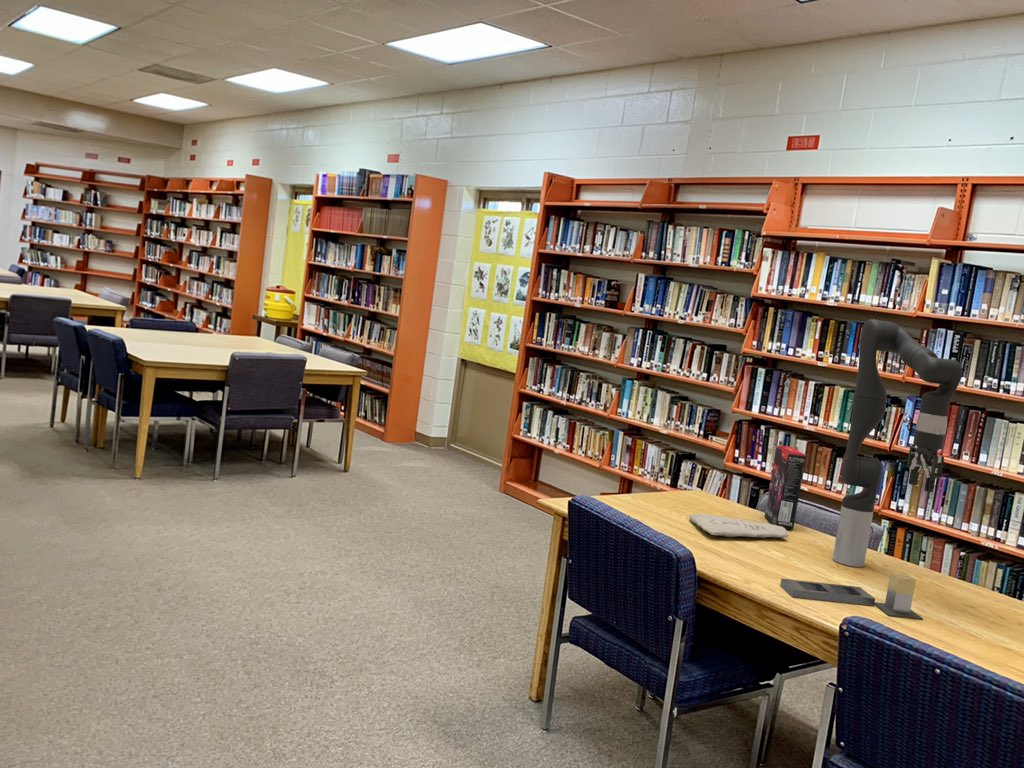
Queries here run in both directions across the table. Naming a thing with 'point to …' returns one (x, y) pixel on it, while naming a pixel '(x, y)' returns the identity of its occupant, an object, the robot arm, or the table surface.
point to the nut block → (900, 593)
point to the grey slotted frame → (827, 592)
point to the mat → (894, 614)
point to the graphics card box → (785, 486)
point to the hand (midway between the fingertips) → (920, 488)
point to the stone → (736, 527)
